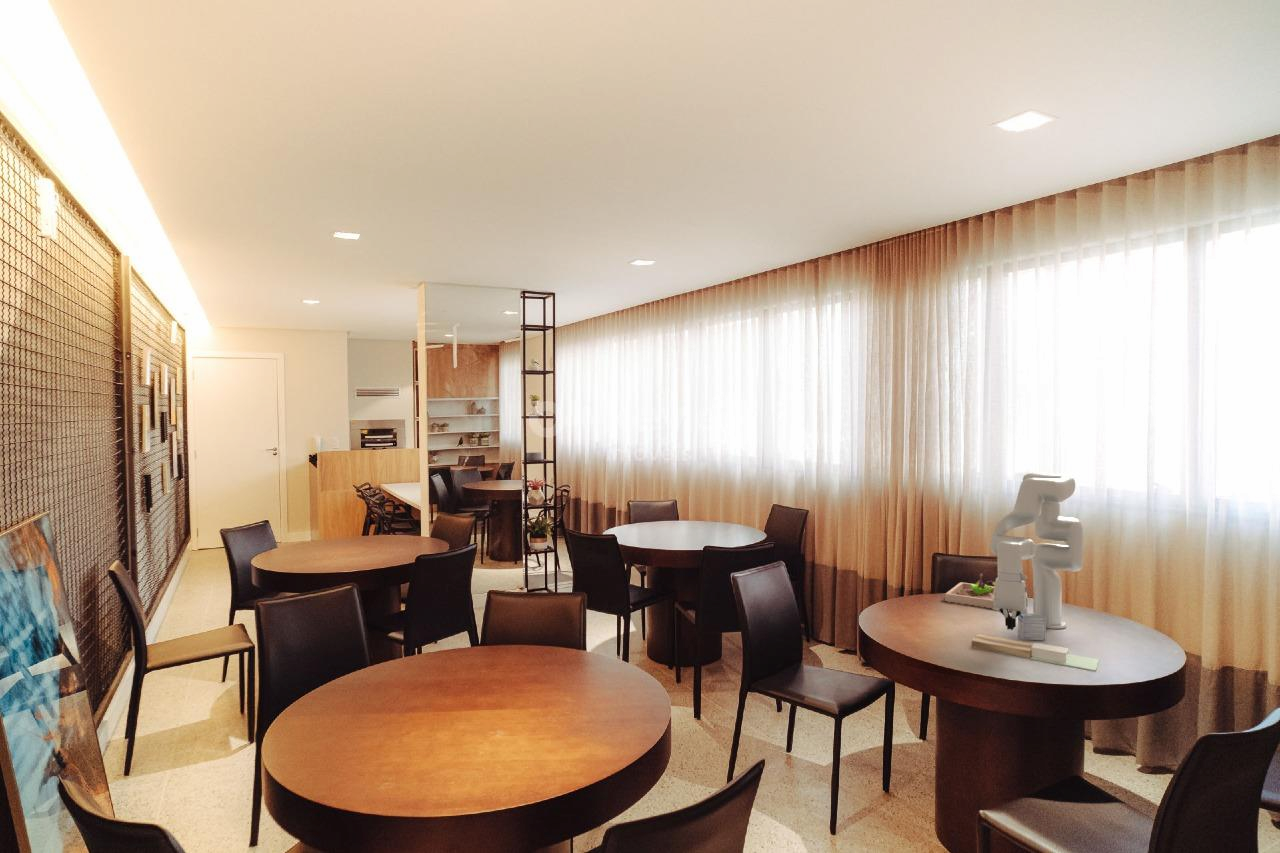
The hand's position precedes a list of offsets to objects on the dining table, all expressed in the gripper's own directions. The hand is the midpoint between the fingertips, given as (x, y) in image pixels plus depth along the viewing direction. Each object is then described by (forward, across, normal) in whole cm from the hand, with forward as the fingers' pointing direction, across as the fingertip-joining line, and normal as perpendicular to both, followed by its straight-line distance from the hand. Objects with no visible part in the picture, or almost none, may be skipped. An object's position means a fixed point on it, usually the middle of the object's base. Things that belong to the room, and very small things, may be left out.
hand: (1010, 628), depth 239 cm
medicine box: (+8, -4, -17) cm, 20 cm away
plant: (+10, +23, -68) cm, 72 cm away
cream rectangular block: (+7, -12, +2) cm, 14 cm away
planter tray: (+10, +21, -65) cm, 69 cm away
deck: (+7, +2, +2) cm, 8 cm away
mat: (+7, -16, +2) cm, 18 cm away
